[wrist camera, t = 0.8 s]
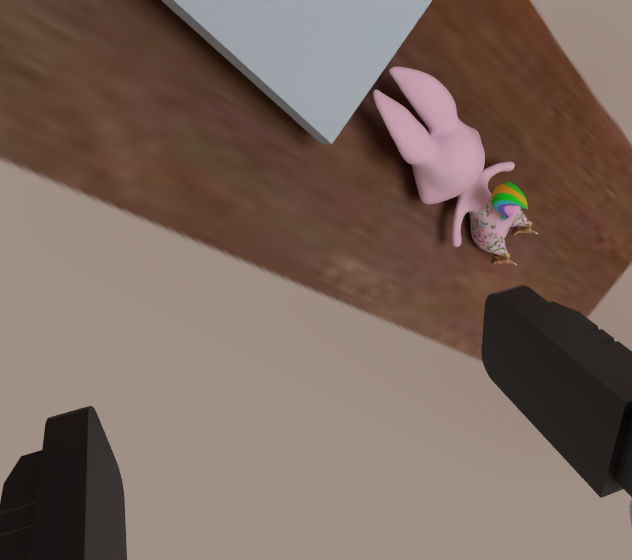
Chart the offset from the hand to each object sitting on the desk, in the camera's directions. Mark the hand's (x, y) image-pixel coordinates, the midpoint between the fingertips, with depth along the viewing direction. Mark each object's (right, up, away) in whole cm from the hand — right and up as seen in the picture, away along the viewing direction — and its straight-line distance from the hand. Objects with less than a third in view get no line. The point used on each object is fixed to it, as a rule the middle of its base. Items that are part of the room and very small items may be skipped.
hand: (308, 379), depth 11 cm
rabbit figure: (+7, +8, +23) cm, 25 cm away
